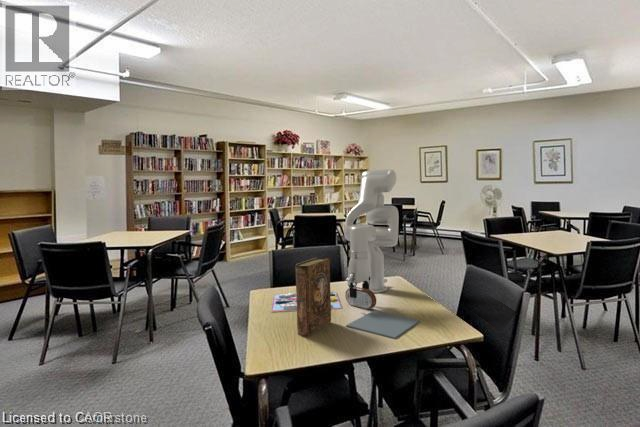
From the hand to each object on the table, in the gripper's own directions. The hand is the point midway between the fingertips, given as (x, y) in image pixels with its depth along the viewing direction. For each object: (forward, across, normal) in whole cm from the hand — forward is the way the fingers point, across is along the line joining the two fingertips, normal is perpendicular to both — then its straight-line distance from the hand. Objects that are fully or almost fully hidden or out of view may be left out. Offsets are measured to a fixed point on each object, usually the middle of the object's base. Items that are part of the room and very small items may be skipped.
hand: (359, 295), depth 162 cm
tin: (+6, -1, 0) cm, 6 cm away
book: (+7, +29, -1) cm, 30 cm away
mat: (+6, +11, +18) cm, 22 cm away
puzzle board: (+6, +7, -24) cm, 26 cm away
